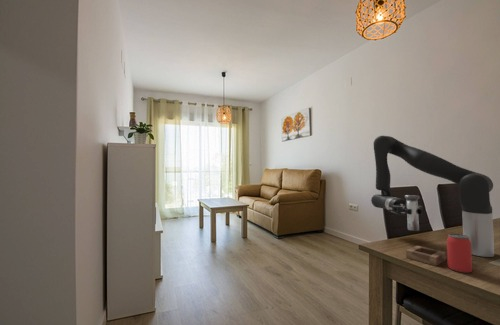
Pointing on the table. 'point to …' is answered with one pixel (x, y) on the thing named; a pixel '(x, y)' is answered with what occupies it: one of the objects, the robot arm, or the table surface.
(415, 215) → the pin
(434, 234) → the table surface
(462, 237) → the beer can
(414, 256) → the socket block
